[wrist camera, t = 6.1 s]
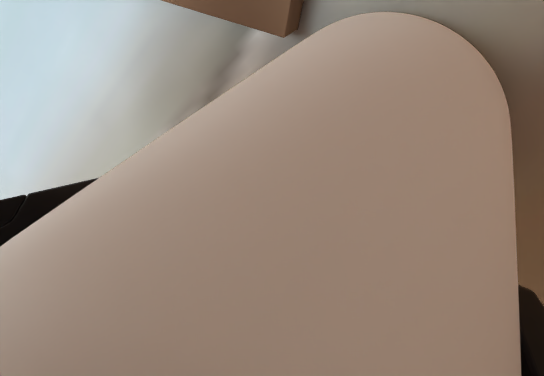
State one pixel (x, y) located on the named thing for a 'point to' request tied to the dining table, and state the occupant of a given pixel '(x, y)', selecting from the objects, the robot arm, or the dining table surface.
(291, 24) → the socket block
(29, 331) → the can
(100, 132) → the dining table surface
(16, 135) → the dining table surface
